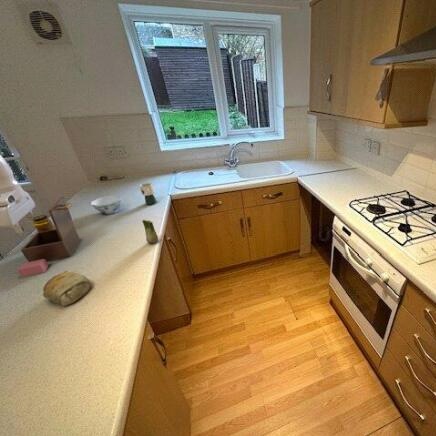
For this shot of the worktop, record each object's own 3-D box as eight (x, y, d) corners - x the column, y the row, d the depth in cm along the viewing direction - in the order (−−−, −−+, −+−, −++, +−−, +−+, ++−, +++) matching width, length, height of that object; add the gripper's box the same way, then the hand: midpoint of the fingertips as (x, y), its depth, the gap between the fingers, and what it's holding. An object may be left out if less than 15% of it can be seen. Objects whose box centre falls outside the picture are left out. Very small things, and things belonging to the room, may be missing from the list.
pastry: (56, 286, 90) (46, 269, 86) (96, 276, 94) (88, 260, 91) (39, 313, 78) (26, 296, 75) (85, 301, 83) (75, 284, 79)
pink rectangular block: (21, 277, 95) (16, 269, 93) (27, 270, 98) (22, 263, 97) (44, 271, 97) (40, 264, 96) (48, 265, 101) (44, 258, 99)
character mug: (144, 202, 160) (138, 183, 154) (155, 199, 163) (150, 181, 157) (146, 207, 152) (140, 188, 146) (159, 204, 156) (153, 185, 150)
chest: (30, 265, 101) (20, 249, 98) (45, 246, 114) (36, 232, 110) (70, 256, 106) (62, 241, 103) (80, 239, 119) (73, 225, 115)
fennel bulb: (160, 242, 115) (153, 220, 110) (149, 246, 113) (141, 224, 107) (157, 238, 119) (150, 216, 114) (146, 241, 116) (138, 220, 111)
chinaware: (118, 204, 156) (114, 193, 153) (129, 210, 149) (125, 198, 145) (92, 213, 145) (86, 201, 142) (102, 219, 138) (97, 207, 134)
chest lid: (48, 210, 96) (62, 209, 98) (61, 197, 109) (73, 196, 111) (60, 241, 102) (73, 239, 104) (72, 225, 115) (83, 223, 117)
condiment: (40, 243, 116) (27, 221, 111) (44, 235, 123) (32, 214, 117) (59, 238, 120) (47, 217, 114) (63, 231, 126) (52, 211, 121)
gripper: (9, 187, 95) (27, 217, 102) (-22, 206, 79) (2, 241, 85) (30, 184, 98) (46, 214, 104) (4, 202, 81) (25, 236, 88)
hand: (26, 226), depth 95 cm, fingers open, 8 cm apart
